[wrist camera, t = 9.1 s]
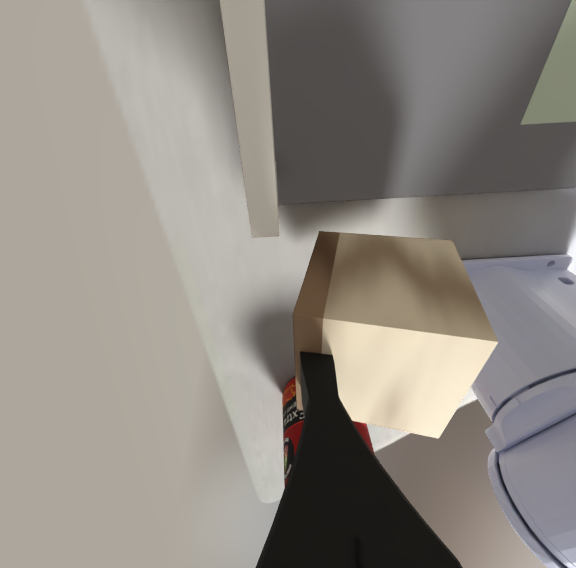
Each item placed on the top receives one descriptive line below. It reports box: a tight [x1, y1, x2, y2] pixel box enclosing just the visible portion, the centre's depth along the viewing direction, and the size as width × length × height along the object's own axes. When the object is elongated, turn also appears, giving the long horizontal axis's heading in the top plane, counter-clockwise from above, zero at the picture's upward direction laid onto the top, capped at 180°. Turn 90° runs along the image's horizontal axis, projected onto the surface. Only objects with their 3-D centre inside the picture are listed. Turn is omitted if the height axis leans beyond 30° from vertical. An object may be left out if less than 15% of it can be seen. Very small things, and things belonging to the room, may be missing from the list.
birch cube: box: [293, 231, 498, 438], centre depth 13 cm, size 6×6×6 cm
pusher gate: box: [220, 0, 279, 238], centre depth 9 cm, size 1×13×6 cm, turn 2°
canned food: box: [283, 377, 374, 486], centre depth 25 cm, size 8×8×11 cm
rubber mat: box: [265, 0, 576, 205], centre depth 12 cm, size 26×16×1 cm, turn 92°
